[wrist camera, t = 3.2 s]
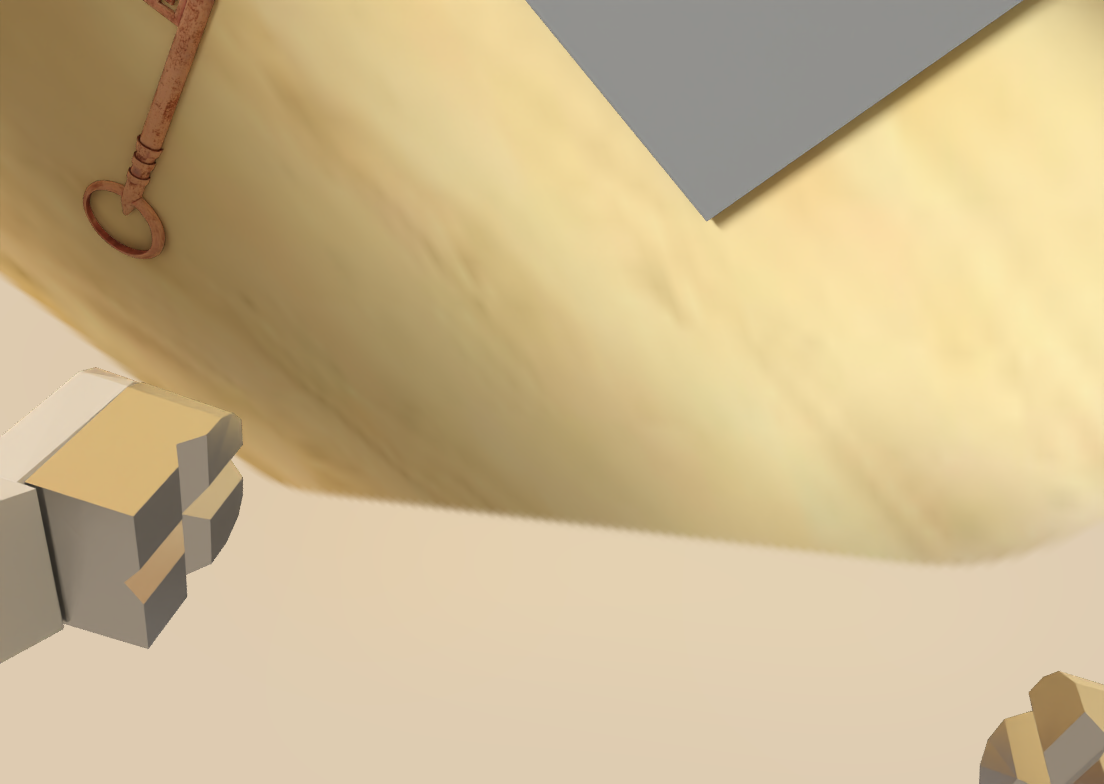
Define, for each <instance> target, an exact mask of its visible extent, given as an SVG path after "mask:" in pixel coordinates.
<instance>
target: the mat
mask: <svg viewBox="0 0 1104 784" xmlns="http://www.w3.org/2000/svg"><path fill="white" fill-rule="evenodd" d="M1021 1H1023V0H526V2H527V3H528V4H529V5H530V6H531V8H532V9H533V10H534V11H535V13H536V14H537V15H538V16H539V17H540V19H541V20H542V21H543V22H544V23H545V25H546V26H547V27H548V28H549V30H550V31H551V32H552V33H553V34H554V36H555V37H556V38H557V39H558V41H559V42H560V43H561V44H562V45H563V47H564V48H565V49H566V50H567V52H568V53H569V54H570V55H571V56H572V58H573V59H574V60H575V61H576V63H577V64H578V65H579V66H580V67H581V69H582V70H583V71H584V72H585V74H586V75H587V76H588V77H589V78H590V80H591V81H592V82H593V83H594V85H595V86H596V87H597V88H598V89H599V91H600V92H601V93H602V94H603V96H604V97H605V98H606V99H607V100H608V102H609V103H610V104H611V105H612V107H613V108H614V109H615V110H616V111H617V113H618V114H619V115H620V116H621V118H622V119H623V120H624V121H625V122H626V124H627V125H628V126H629V127H630V129H631V130H632V131H633V132H634V133H635V135H636V136H637V137H638V138H639V139H640V141H641V142H642V143H643V144H644V146H645V147H646V148H647V149H648V150H649V152H650V153H651V154H652V155H653V157H654V158H655V159H656V160H657V161H658V163H659V164H660V165H661V166H662V168H663V169H664V170H665V171H666V172H667V174H668V175H669V176H670V177H671V179H672V180H673V181H674V182H675V183H676V185H677V186H678V187H679V188H680V190H681V191H682V192H683V193H684V194H685V196H686V197H687V198H688V199H689V201H690V202H691V203H692V204H693V205H694V207H695V208H696V209H697V210H698V212H699V213H700V214H701V215H702V216H703V218H704V219H705V220H706V221H708V220H710V219H711V218H713V217H714V216H715V215H717V214H718V213H720V212H721V211H723V210H724V209H725V208H727V207H728V206H730V205H731V204H733V203H734V202H735V201H737V200H738V199H740V198H741V197H743V196H744V195H745V194H747V193H748V192H750V191H751V190H753V189H754V188H755V187H757V186H758V185H760V184H761V183H763V182H764V181H765V180H767V179H768V178H770V177H771V176H773V175H774V174H775V173H777V172H778V171H780V170H781V169H783V168H784V167H785V166H787V165H788V164H790V163H791V162H793V161H794V160H795V159H797V158H798V157H800V156H801V155H803V154H804V153H805V152H807V151H808V150H810V149H811V148H813V147H814V146H815V145H817V144H818V143H820V142H821V141H823V140H824V139H825V138H827V137H828V136H830V135H831V134H833V133H834V132H835V131H837V130H838V129H840V128H841V127H843V126H844V125H845V124H847V123H848V122H850V121H851V120H853V119H854V118H855V117H857V116H858V115H860V114H861V113H863V112H864V111H865V110H867V109H868V108H870V107H871V106H873V105H874V104H875V103H877V102H878V101H880V100H881V99H883V98H884V97H885V96H887V95H888V94H890V93H891V92H893V91H894V90H895V89H897V88H898V87H900V86H901V85H903V84H904V83H905V82H907V81H908V80H910V79H911V78H913V77H914V76H916V75H917V74H918V73H920V72H921V71H923V70H924V69H926V68H927V67H928V66H930V65H931V64H933V63H934V62H936V61H937V60H938V59H940V58H941V57H943V56H944V55H946V54H947V53H948V52H950V51H951V50H953V49H954V48H956V47H957V46H958V45H960V44H961V43H963V42H964V41H966V40H967V39H968V38H970V37H971V36H973V35H974V34H976V33H977V32H978V31H980V30H981V29H983V28H984V27H986V26H987V25H988V24H990V23H991V22H993V21H994V20H996V19H997V18H998V17H1000V16H1001V15H1003V14H1004V13H1006V12H1007V11H1008V10H1010V9H1011V8H1013V7H1014V6H1016V5H1017V4H1018V3H1020V2H1021Z"/></svg>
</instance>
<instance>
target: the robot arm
mask: <svg viewBox="0 0 1104 784" xmlns="http://www.w3.org/2000/svg"><path fill="white" fill-rule="evenodd" d="M242 445H243V442H242V423H241V419H240V418H239V417H238V416H236V415H235V414H234V413H232V412H229V411H226V410H223V409H220V408H217V407H214V406H211V405H208V404H205V403H202V402H199V401H196V400H193V399H191V398H188V397H185V396H182V395H179V394H176V393H173V392H170V391H167V390H164V389H161V388H158V387H155V386H152V385H149V384H146V383H144V382H141V383H140V382H137V381H134V380H131V379H128V378H125V377H122V376H120V375H117V374H114V373H111V372H108V371H105V370H102V369H99V368H96V367H95V368H91V369H87V370H83V371H80V372H78V373H76V374H75V375H74V376H73V377H72V378H71V379H69V380H68V381H67V382H66V383H64V384H63V385H62V386H61V387H60V388H59V389H57V390H56V391H55V392H54V393H53V394H51V395H50V396H49V397H48V398H46V399H45V400H44V401H43V402H42V403H40V404H39V405H38V406H37V407H36V408H34V409H33V410H32V411H31V412H29V413H28V414H27V415H26V416H25V417H23V418H22V419H21V420H20V421H19V422H17V423H16V424H15V425H14V426H13V427H11V428H10V429H9V430H8V431H7V432H5V433H4V434H3V435H2V436H1V437H0V663H2V662H4V661H6V660H8V659H9V658H11V657H13V656H15V655H17V654H19V653H20V652H22V651H24V650H26V649H28V648H29V647H31V646H33V645H35V644H37V643H39V642H41V641H42V640H44V639H46V638H48V637H50V636H52V635H53V634H55V633H57V632H59V631H61V630H62V629H63V628H64V625H63V624H67V625H71V626H73V627H77V628H80V629H83V630H87V631H90V632H93V633H97V634H101V635H103V636H107V637H110V638H113V639H117V640H120V641H123V642H127V643H130V644H134V645H137V646H140V647H144V648H147V649H149V647H150V646H151V645H152V643H153V642H154V641H155V639H156V638H157V637H158V635H159V634H160V633H161V631H162V630H163V629H164V627H165V625H167V623H168V622H169V620H170V619H171V618H172V616H173V615H174V614H175V612H176V611H177V610H178V608H179V607H180V606H181V604H182V603H183V602H184V600H185V599H186V598H187V585H186V575H187V574H189V573H191V572H193V571H196V570H198V569H200V568H203V567H205V566H207V565H209V564H211V563H212V562H213V561H214V559H215V558H216V557H217V555H218V554H219V552H220V551H221V549H222V548H223V547H224V545H225V544H226V542H227V540H228V538H229V536H230V533H231V531H232V529H233V527H234V524H235V522H236V520H237V517H238V515H239V510H240V505H241V501H242V496H243V477H242V475H241V474H240V472H239V471H238V470H237V468H236V467H235V465H234V464H233V462H232V461H231V459H232V457H233V456H234V455H235V454H236V452H237V451H238V450H239V449H240V447H241V446H242ZM1029 696H1030V701H1031V706H1032V711H1030V712H1026V713H1023V714H1020V715H1016V716H1013V717H1010V718H1007V719H1004V720H1003V722H1002V723H1001V724H1000V725H999V726H998V728H997V729H996V730H995V732H994V733H993V734H992V735H991V736H990V738H989V739H988V741H987V744H986V747H985V751H984V754H983V757H982V761H981V764H980V779H979V784H1104V685H1103V684H1100V683H1096V682H1093V681H1090V680H1086V679H1083V678H1080V677H1077V676H1073V675H1070V674H1067V673H1063V672H1060V671H1057V672H1055V673H1052V674H1050V675H1047V676H1044V677H1043V678H1042V679H1041V680H1040V681H1039V682H1038V683H1037V684H1036V685H1035V686H1034V687H1033V688H1032V689H1031V691H1030V692H1029Z"/></svg>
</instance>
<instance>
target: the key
mask: <svg viewBox="0 0 1104 784" xmlns="http://www.w3.org/2000/svg"><path fill="white" fill-rule="evenodd" d="M143 1H144V2H146V3H147V4H148V5H150V6H151V7H152V8H154V9H155V10H156V11H158V12H159V13H160V14H162V15H163V16H164V17H166V18H167V19H168V20H170V21H171V22H172V23H174V24H175V25H176V26H178V29H177V32H176V35H175V38H174V41H173V43H172V46H171V49H170V52H169V55H168V58H167V61H166V64H165V67H164V70H163V73H162V75H161V78H160V81H159V84H158V87H157V90H156V93H155V96H154V99H153V102H152V104H151V107H150V110H149V113H148V116H147V119H146V122H145V125H144V128H143V131H142V134H141V135H139V136H138V137H137V142H136V150H137V151H136V152H134V155H133V158H132V163H133V164H132V167H130V168H129V170H128V173H127V178H128V179H127V182H126V185H125V186H124V185H121V184H119V183H116V182H112V181H104V180H102V181H96V182H93V183H92V184H90V185H89V186H88V187H87V189H86V191H85V193H84V197H83V206H84V210H85V213H86V216H87V217H88V219H89V221H90V223H91V225H92V226H93V228H94V229H95V231H96V232H97V233H98V234H99V235H100V236H101V237H102V239H104V240H105V241H106V242H107V243H108V244H109V245H111V246H112V247H113V248H115V249H116V250H118V251H120V252H122V253H124V254H126V255H128V256H131V257H134V258H139V259H149V258H153V257H156V256H157V255H159V254H160V253H161V251H162V249H163V246H164V242H165V233H164V229H163V226H162V223H161V221H160V219H159V218H158V216H157V214H156V213H155V211H154V210H153V208H152V207H151V206H150V205H149V204H148V203H147V202H146V201H145V200H144V199H143V198H142V194H143V192H144V189H145V186H146V185H147V184H148V183H149V181H150V177H149V175H150V172H151V171H152V170H154V167H155V165H156V162H154V161H155V159H156V158H158V157H159V156H160V154H161V152H162V151H163V149H161V147H162V144H163V141H164V138H165V136H166V133H167V130H168V127H169V125H170V122H171V119H172V116H173V114H174V111H175V108H176V105H177V103H178V100H179V97H180V94H181V92H182V89H183V86H184V83H185V81H186V78H187V75H188V73H189V70H190V67H191V64H192V62H193V59H194V56H195V53H196V51H197V48H198V45H199V42H200V40H201V37H202V34H203V31H204V29H205V26H206V23H207V20H208V18H209V15H210V12H211V9H212V7H213V4H214V1H215V0H179V3H178V6H177V9H176V12H174V11H173V10H172V9H170V8H169V7H167V6H166V5H164V4H163V3H162V2H161V0H143ZM165 1H166V2H167V3H169V4H170V5H174V3H175V0H165ZM96 190H107V191H110V192H114V193H116V194H118V195H120V196H121V202H122V208H123V214H125V215H128V214H129V213H130V212H131V211H132V210H133V209H134V208H137V209H138V210H139V211H140V213H141V214H142V215H143V217H144V218H145V219H146V221H147V222H148V225H149V226H150V229H151V232H152V246H151V248H150V250H146V251H143V250H136V249H133V248H130V247H127V246H125V245H123V244H121V243H120V242H118V241H117V240H115V239H114V238H112V237H111V236H110V235H109V234H108V233H107V232H106V231H105V230H104V229H103V228H102V227H101V226H100V225H99V223H98V222H97V220H96V219H95V217H94V215H93V213H92V211H91V207H90V196H91V194H92V192H93V191H96Z"/></svg>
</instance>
